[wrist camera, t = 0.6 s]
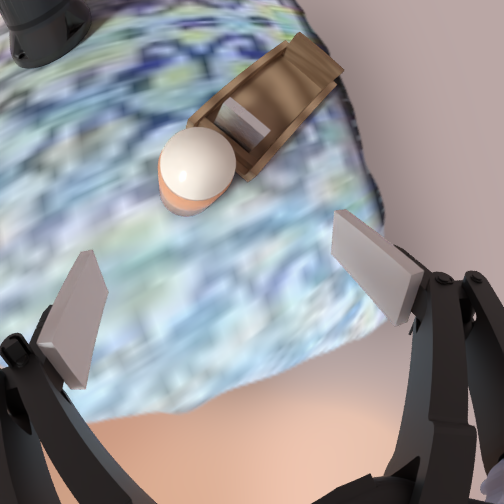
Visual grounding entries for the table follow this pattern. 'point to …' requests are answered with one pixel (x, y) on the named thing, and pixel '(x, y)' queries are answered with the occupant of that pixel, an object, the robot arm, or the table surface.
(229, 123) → the pusher
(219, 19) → the table surface
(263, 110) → the tray
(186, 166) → the jar
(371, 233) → the robot arm
